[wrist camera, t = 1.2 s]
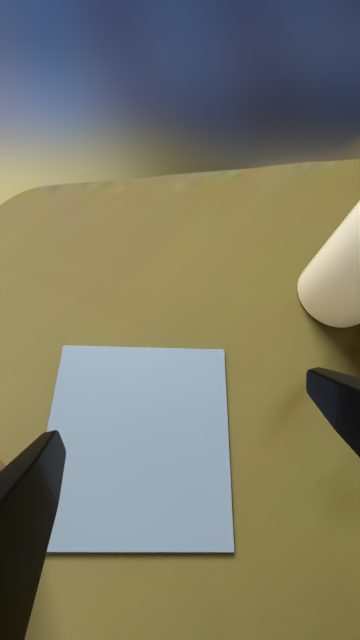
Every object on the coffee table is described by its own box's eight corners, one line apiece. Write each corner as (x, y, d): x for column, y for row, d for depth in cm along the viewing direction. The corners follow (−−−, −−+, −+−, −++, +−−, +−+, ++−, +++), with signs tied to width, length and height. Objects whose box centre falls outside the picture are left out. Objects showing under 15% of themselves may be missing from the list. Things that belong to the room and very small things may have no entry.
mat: (232, 548, 19) (234, 552, 19) (27, 548, 19) (23, 552, 18) (222, 351, 25) (224, 349, 24) (65, 346, 24) (63, 345, 24)
